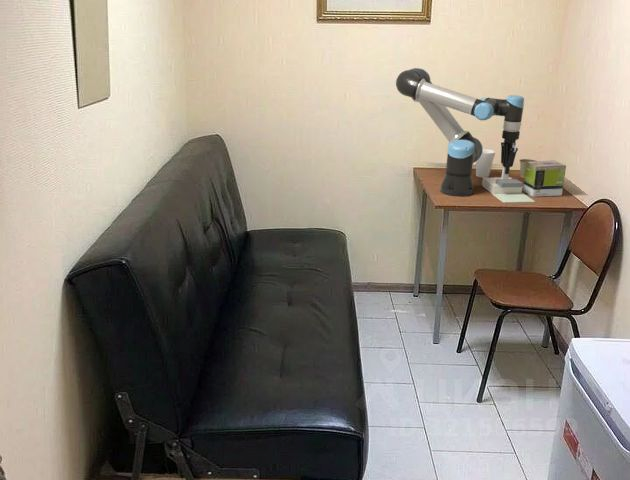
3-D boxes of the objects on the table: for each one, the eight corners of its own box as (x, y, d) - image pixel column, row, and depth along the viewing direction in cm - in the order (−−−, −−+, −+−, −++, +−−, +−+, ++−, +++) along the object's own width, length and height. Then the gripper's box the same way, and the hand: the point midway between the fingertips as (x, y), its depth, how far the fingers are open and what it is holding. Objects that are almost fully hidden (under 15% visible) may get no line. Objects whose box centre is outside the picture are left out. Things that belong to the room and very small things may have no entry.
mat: (503, 202, 283) (503, 202, 283) (492, 194, 295) (492, 193, 295) (535, 202, 285) (535, 201, 285) (523, 194, 297) (523, 193, 297)
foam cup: (472, 173, 330) (475, 148, 325) (490, 174, 329) (493, 149, 324) (474, 178, 321) (477, 152, 316) (492, 179, 320) (496, 153, 315)
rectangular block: (501, 187, 292) (502, 183, 291) (495, 183, 298) (495, 179, 297) (521, 187, 293) (522, 182, 292) (515, 182, 300) (515, 178, 299)
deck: (493, 194, 295) (494, 186, 294) (481, 185, 308) (482, 177, 307) (521, 193, 297) (522, 185, 296) (509, 185, 310) (510, 177, 309)
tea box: (551, 190, 304) (556, 159, 299) (562, 196, 295) (567, 165, 290) (521, 190, 302) (526, 160, 297) (532, 197, 293) (536, 166, 287)
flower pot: (534, 175, 328) (536, 159, 325) (537, 180, 319) (540, 164, 316) (515, 174, 329) (518, 158, 326) (518, 179, 320) (520, 162, 317)
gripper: (525, 133, 285) (518, 183, 294) (512, 127, 297) (506, 176, 306) (509, 133, 284) (502, 184, 292) (497, 127, 296) (491, 176, 304)
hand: (504, 179), depth 299 cm, fingers closed
